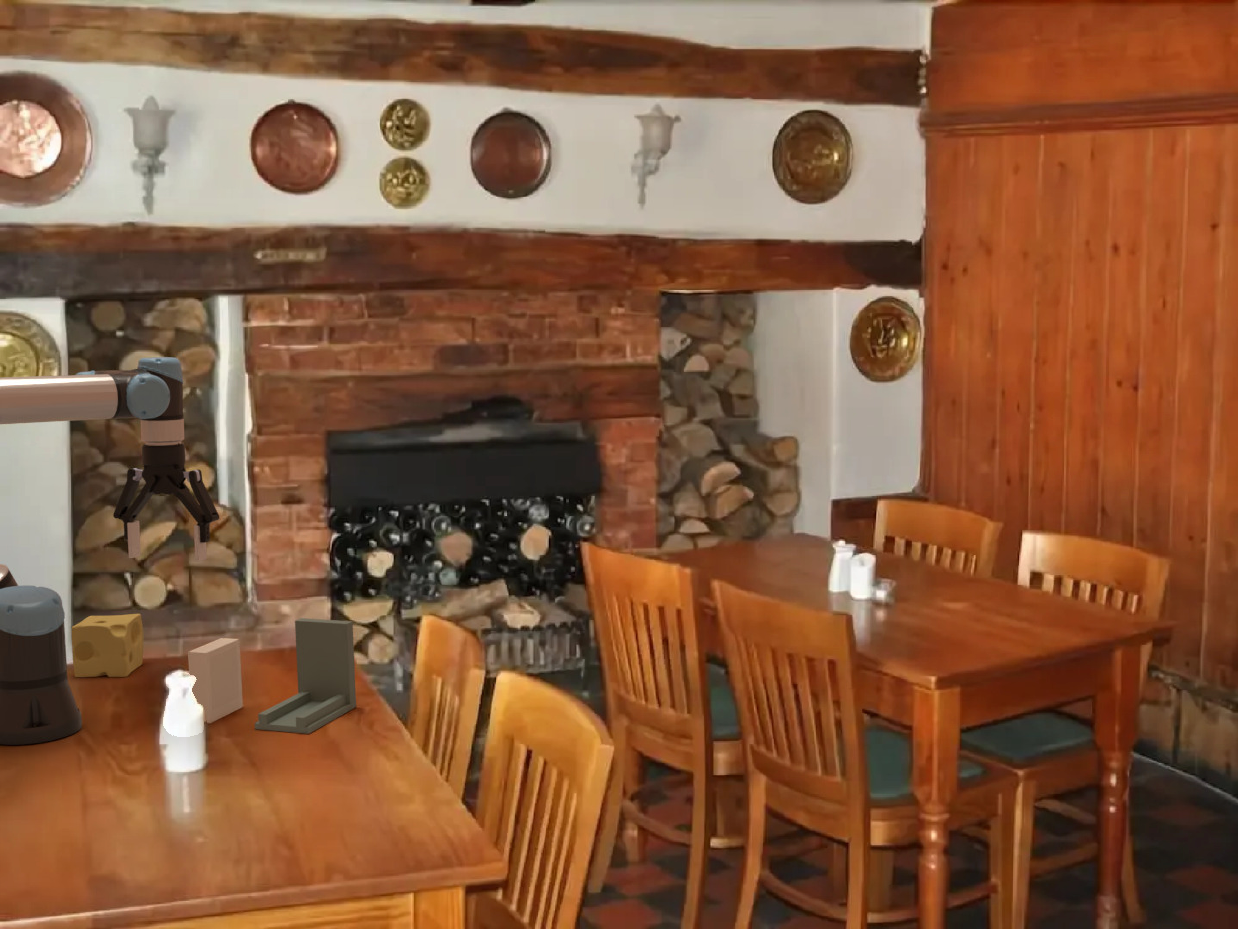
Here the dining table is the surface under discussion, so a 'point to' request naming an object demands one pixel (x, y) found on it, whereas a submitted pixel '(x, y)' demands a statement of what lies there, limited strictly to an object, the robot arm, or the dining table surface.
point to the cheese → (107, 645)
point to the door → (217, 677)
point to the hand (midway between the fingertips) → (167, 558)
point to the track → (317, 678)
